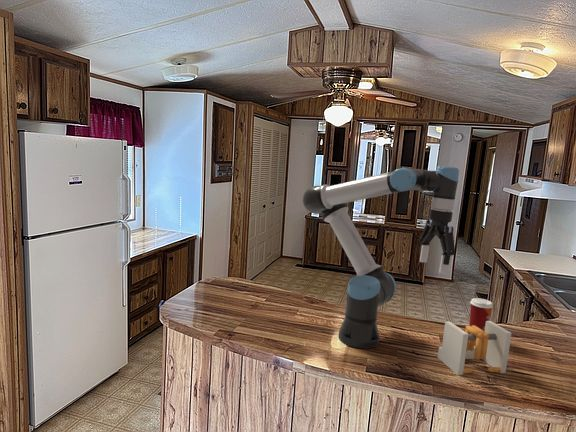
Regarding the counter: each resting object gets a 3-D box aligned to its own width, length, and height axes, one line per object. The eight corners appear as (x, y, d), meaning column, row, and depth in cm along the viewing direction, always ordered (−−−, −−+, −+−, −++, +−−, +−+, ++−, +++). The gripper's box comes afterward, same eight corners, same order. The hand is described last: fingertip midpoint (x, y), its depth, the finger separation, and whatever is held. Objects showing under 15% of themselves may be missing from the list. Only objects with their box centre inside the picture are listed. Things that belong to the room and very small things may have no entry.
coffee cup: (490, 342, 155) (496, 306, 153) (468, 339, 157) (473, 303, 155) (484, 333, 164) (489, 298, 162) (463, 330, 165) (468, 296, 163)
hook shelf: (457, 375, 129) (463, 334, 127) (437, 357, 140) (442, 319, 138) (505, 373, 132) (511, 333, 130) (481, 356, 143) (487, 319, 142)
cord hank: (486, 359, 131) (490, 334, 130) (476, 359, 130) (479, 334, 129) (471, 348, 139) (474, 324, 138) (461, 348, 138) (464, 324, 137)
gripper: (473, 216, 130) (462, 278, 134) (432, 205, 155) (424, 258, 158) (452, 215, 129) (442, 277, 132) (415, 204, 153) (407, 257, 156)
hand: (432, 267), depth 145 cm, fingers open, 13 cm apart
